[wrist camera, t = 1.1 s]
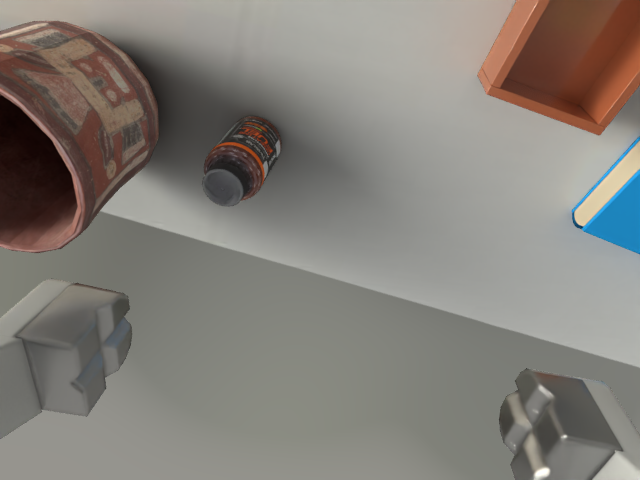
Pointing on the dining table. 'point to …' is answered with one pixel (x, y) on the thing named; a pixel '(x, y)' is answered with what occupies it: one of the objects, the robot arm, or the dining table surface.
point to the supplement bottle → (241, 161)
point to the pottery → (66, 131)
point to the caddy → (567, 59)
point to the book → (614, 203)
